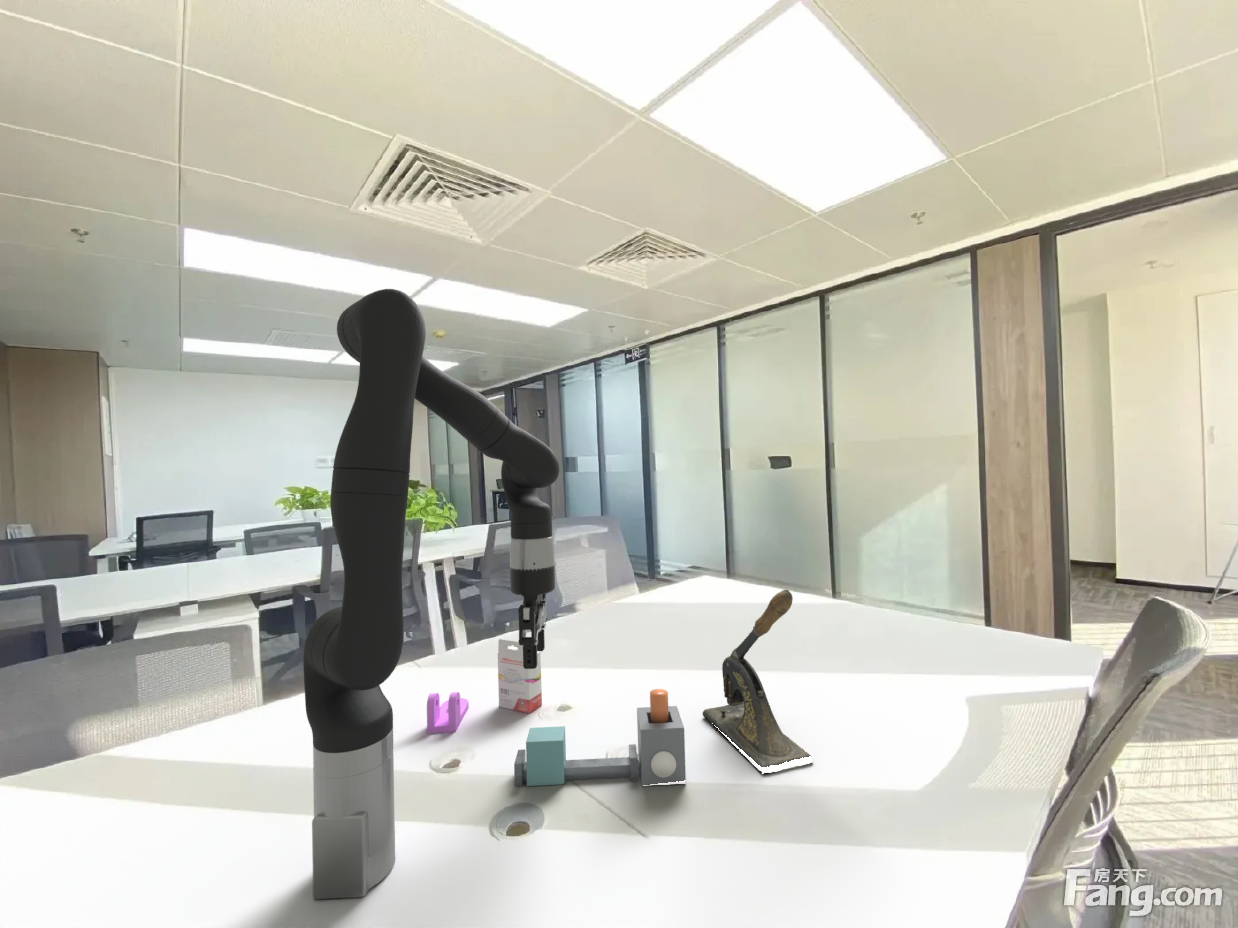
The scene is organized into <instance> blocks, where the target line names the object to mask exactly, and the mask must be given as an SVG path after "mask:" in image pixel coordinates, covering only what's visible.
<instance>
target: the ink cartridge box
mask: <svg viewBox="0 0 1238 928" xmlns="http://www.w3.org/2000/svg"><path fill="white" fill-rule="evenodd" d="M497 646H498V647H497V648H498V649H497V671H498V672H497V677H498V678H497V679H498V681H497V682H498V707H500V708H504V709H508V710H513V711H517V712H521V713H525V714H531V713H532V712H533V711H535V710H537V709H538V708H540V707H541V706H543V697H542V696H543V695H542V693H543V692H542V689H543V688H542V663H541V651H537V667H536V668H535V669H525V668H524V667H523V646H522V645H519V641H515V640H509V639H502V638H499V639H498V645H497Z"/></svg>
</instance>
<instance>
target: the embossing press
mask: <svg viewBox="0 0 1238 928" xmlns="http://www.w3.org/2000/svg"><path fill="white" fill-rule="evenodd" d="M793 598H794V597H793V594H792V593H791V591H789V590H788V589H783V590H780V591H779V592H778V593H776V594H775V595H774V596H772V598H771V600H770V601H769V603H768V605H767V607H766V609H765V610H764V612H763V613H762V614H761V616H760V617H758V618H757V619H756V620H755V622H754V625H753V628H752V629H751V632H749V634H748V635H747V636H746V637H745V638H744V639H743V641H742V642H741V643H740V644H739V645H738V646H737V647H735V648H734V649H733V650H732V651H731V654H730V655H729V656H726V658H724V660H723V662H722V667H721V671H722V672H721V673H722V680H723V692H724V694H723V695H724V698H726V703H727V704H726V705H723V706H722V705H721V706H717V707H711V708H705V709H703V711H702V716H703V718H704V719H706V718H707V719H708V720H709V721H710V722H711V723H713V724H714V725H715V726H716V727H718V728H719V730H720V731H721V732H723V733H724V734H725V735H727V737H729V738H730V739H731V741H732V742H734V743H735V744H736V745H737V746H738V747H739V748H740V749H742V750H743V751H744V752H745V753H746V754H747V755H748V756H749V757H751V758H752V759H753V760H754V761H755V762H756V763H757V764H758V765H760V766H761V767H767V766H768V767H769V766H770V765H779V764H782V763H784V762H786V761H787V762H789V761H791V760H794V759H800V758H802V757H803V758H804V757H809V756H811V755H810V754H809V753H808V752H807V751H806V750H804V748H802V747H801V746H800V745H798V744H797V743H796V742H795V741H793V740H792V739H790V737H789V736H787V735H786V734H785V733H783V731H782V730H781V728H780V726H779V724H778V722H777V720H776V718H775V715H774V713H773V710H772V708H771V705H770V703H769V700H768V697H767V694H766V691H765V689H764V687H763V684H762V681H761V679H760V677H759V675H758V673H757V671H756V670H755V669H754V667H753V666H752V665H751V663H750V662H749V661H748V660H747V659H746V658H745V656H746V654H747V653H748V652H749V651H750V649H751V648H752V646H754V644H755V643H756V642H757V641H758V639H759V638H760V637H762V636H764V635H766V634H767V633H768V632H770V630H771V628H772V626H773V625H775V623H776V622H777V621H778V620H779V619H780V618H782V617H783V616H784V615H786V614H787V612H788V611H789V610H790V609H791V607H792V605H793V601H794V600H793ZM707 719H706V720H707ZM708 720H707V721H708ZM709 721H708V722H709ZM710 722H709V723H710ZM711 723H710V724H711ZM805 751H806V752H805Z"/></svg>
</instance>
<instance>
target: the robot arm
mask: <svg viewBox="0 0 1238 928" xmlns="http://www.w3.org/2000/svg"><path fill="white" fill-rule="evenodd" d="M336 334H337V338H338V341H339V343H340V345H341V346H342V348H343V350H344V351H345V352H346V353H347V354H348V355H349V357H351V359H353V360H355V361H356V362H358V363H359V372H358V373H359V375H358V385H357V389H356V395H355V398H354V402H353V404H352V407H351V409H350V412H349V414H348V416H347V419H346V421H345V424H344V427H343V429H342V432H341V434H340V438H339V440H338V444H337V447H336V450H335V456H334V460H333V467H332V468H333V470H332V475H331V476H332V477H331V489H330V498H329V499H330V500H329V501H330V513H331V520H332V521H331V522H332V524H333V525H332V526H333V528H334V535H335V537H336V540H337V544H338V548H339V551H340V555H341V560H342V566H343V574H344V575H343V576H344V578H343V579H344V580H343V581H344V582H343V583H344V584H343V585H344V586H343V593H342V594H343V596H342V605H341V606H337V607H335V608H331V609H329V610H327V611H326V612H324V613H323V614H322V615H320V616H319V617H318V618H317V619H316V620H315V622H314V623H313V624H312V626H311V627H310V628H309V630H308V633H307V635H306V638H305V641H304V642H305V643H304V646H303V648H304V649H303V655H302V657H303V684H304V699H305V700H304V701H305V711H306V712H305V713H306V718H307V721H308V723H309V726H310V729H311V732H312V733H311V734H312V760H313V761H312V762H313V763H312V764H313V767H312V768H313V769H312V770H313V771H312V773H313V774H312V779H313V780H312V781H313V819H312V821H311V844H312V845H311V847H312V848H311V850H312V851H311V852H312V855H311V856H312V858H311V859H312V899H313V900H328V899H346V898H362V897H363V898H364V897H365V896H366V895H367V893H368V892H369V891H370V889H372V888H373V887H375V886H376V885H377V884H379V883H380V882H382V881H383V880H384V879H385V878H386V877H387V876H388V875H389V873H391V871H392V869H393V868H394V865H395V863H396V829H395V828H396V826H395V825H396V824H395V820H396V819H395V771H394V767H395V766H394V763H395V762H394V760H395V759H394V712H393V707H392V703H390V701H389V699H388V698H387V697H386V696H385V694H384V693H383V690H382V688H381V686H380V685H382V684H383V683H384V682H386V680H387V679H389V677H391V675H392V674H393V672H394V671H395V669H396V667H397V665H398V663H399V661H400V657H401V655H402V651H403V646H404V608H403V607H404V606H403V604H404V603H403V602H404V601H403V563H404V562H403V560H404V549H405V548H404V547H405V546H404V545H405V533H406V532H405V531H406V530H405V528H406V518H407V517H406V516H407V509H408V508H407V506H408V501H409V500H408V499H409V497H408V496H409V487H410V473H411V451H412V439H413V425H414V407H415V400H416V401H418V402H419V403H421V404H422V405H423V406H425V407H426V408H427V409H429V410H430V411H431V412H433V414H435V415H436V416H437V417H439V418H440V419H441V420H443V421H444V422H445V423H447V424H448V425H449V426H450V427H451V428H452V429H454V430H455V431H456V432H457V433H458V434H459V435H460V436H462V437H463V438H464V439H465V440H466V441H468V442H469V443H470V444H471V445H472V446H473V447H474V448H476V449H477V450H478V451H479V452H480V453H481V454H482V455H484V456H486V457H488V458H490V459H494V460H499V461H501V462H502V464H501V468H500V470H501V471H500V476H501V477H500V479H501V483H502V487H503V492H504V495H505V499H506V503H507V507H508V509H509V513H510V545H509V546H510V547H509V569H510V570H509V571H510V572H509V575H510V577H509V578H510V582H509V584H510V592H511V593H512V594H514V595H516V596H522V597H523V601H522V604H520V605H519V607H518V610H517V612H518V642H519V645H522V646H523V667H524V668H525V669H535V668H536V667H537V651H540V652H544V650H545V648H546V647H545V642H546V641H545V639H546V638H545V629H546V626H547V624H546V623H547V621H548V617H547V616H548V615H547V604H548V603H547V594H549V593H552V592H553V591H554V590H555V588H556V578H555V577H556V575H555V571H556V570H555V547H554V546H555V545H554V541H553V518H552V517H553V515H552V508H551V506H550V505H549V504H548V503H546V502H544V501H541V500H540V497H539V494H538V491H537V489H543V488H547V487H550V486H551V485H553V484H554V483H555V482H556V480H558V478H559V474H560V463H559V460H558V458H557V455H556V454H555V452H554V451H553V450H552V449H551V447H549V446H548V445H547V444H546V443H545V442H543V441H542V440H540V439H538V438H537V437H535V436H534V435H532V434H531V433H529V432H528V431H526V430H524V429H522V428H521V427H519V426H517V425H516V424H515V423H513V422H512V420H511V419H509V418H508V417H507V415H506V414H505V413H503V412H502V410H501V409H499V407H497V406H496V405H495V404H494V403H493V402H492V401H490V399H488V398H487V397H486V396H484V395H483V394H482V393H480V392H479V391H477V390H475V389H474V388H472V387H470V386H469V385H467V384H465V383H463V382H462V381H459V380H458V379H456V378H455V377H452V376H451V375H449V374H447V373H446V372H444V371H443V370H441V369H440V368H438V367H437V366H436V365H434V364H432V362H430V361H429V360H428V359H427V358H426V357H425V356H423V355H424V350H425V349H424V348H425V343H426V335H427V332H426V322H425V317H424V315H423V312H422V311H421V309H420V307H419V305H418V303H417V302H416V301H415V300H414V299H413V298H412V297H411V296H410V295H408V294H407V293H406V292H403V291H402V290H399V289H394V288H384V289H378V290H375V291H373V292H371V293H368V294H366V295H365V296H363V297H362V298H360V299H359V300H357V301H356V302H353V304H351V305H350V306H347V308H345V309H344V310H343V311H342V313H340V316H339V317H338V320H337V323H336ZM527 633H531V634H530V636H527Z"/></svg>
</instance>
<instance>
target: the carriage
mask: <svg viewBox="0 0 1238 928" xmlns="http://www.w3.org/2000/svg"><path fill="white" fill-rule="evenodd" d="M566 742H567V741H566V726H564V725H563V726H543V727H541V726H540V727H539V726H538V727H529V729H528V733H527V737H526V740H525V753H526V765H527V782H526V786H527V787H530V786H531V787H532V786H533V787H534V786H549V785H550V786H553V785H554V786H555V785H557V786H558V785H565V781H566V780H565V777H564V767H565V760H567V753H566V752H567V747H566V744H567V743H566Z"/></svg>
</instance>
